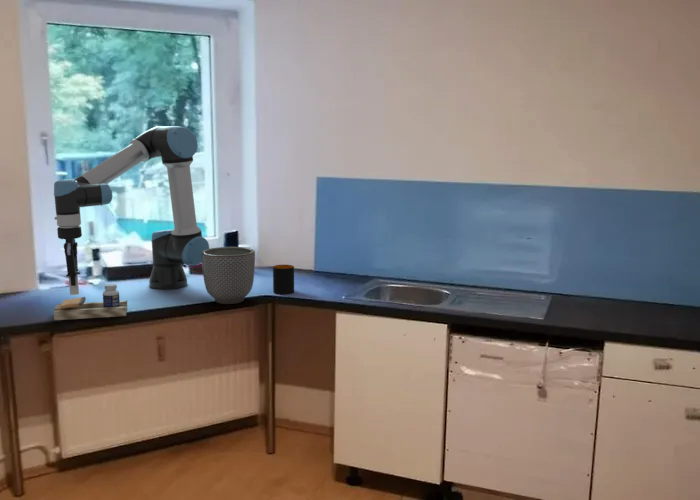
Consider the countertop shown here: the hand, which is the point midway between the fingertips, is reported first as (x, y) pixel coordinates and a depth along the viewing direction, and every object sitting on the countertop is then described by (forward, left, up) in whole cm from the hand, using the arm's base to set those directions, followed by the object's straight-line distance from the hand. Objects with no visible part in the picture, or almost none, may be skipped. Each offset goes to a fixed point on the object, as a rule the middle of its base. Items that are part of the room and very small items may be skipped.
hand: (74, 294), depth 237 cm
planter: (-53, -8, -8) cm, 54 cm away
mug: (-75, -19, -8) cm, 78 cm away
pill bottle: (-12, 0, -7) cm, 14 cm away
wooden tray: (-5, 0, -7) cm, 9 cm away
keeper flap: (+1, 0, -3) cm, 3 cm away
